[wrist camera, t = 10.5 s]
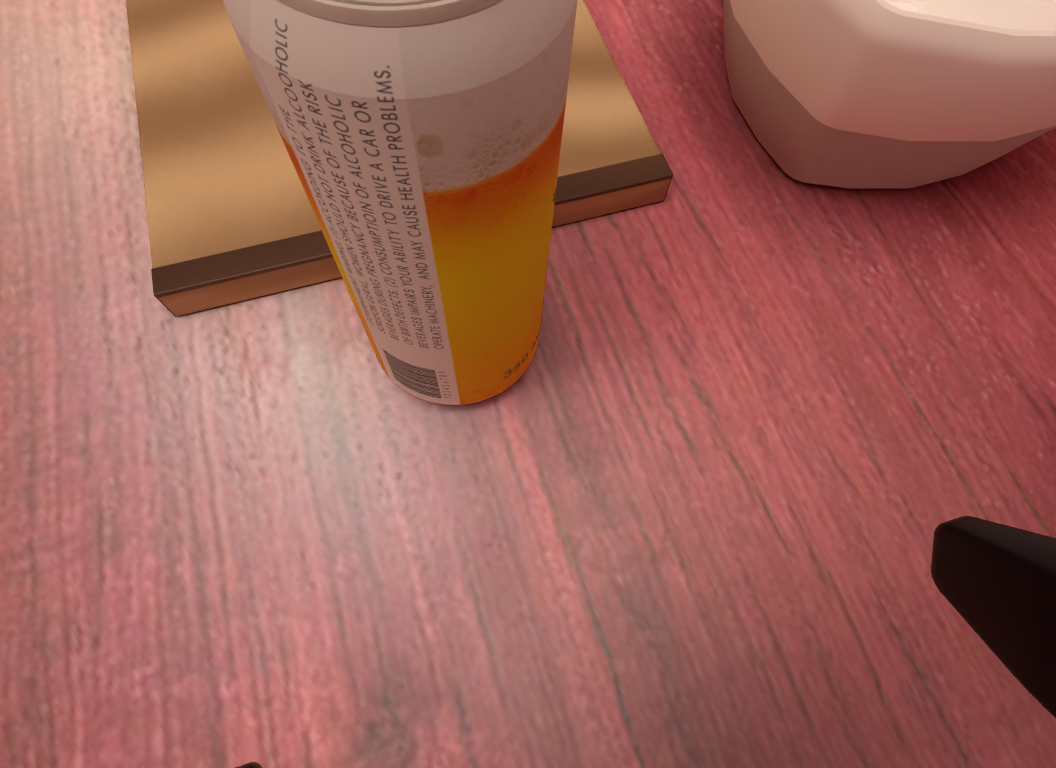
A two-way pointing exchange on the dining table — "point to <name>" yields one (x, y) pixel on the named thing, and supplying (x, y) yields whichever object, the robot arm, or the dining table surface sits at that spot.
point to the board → (270, 177)
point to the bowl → (891, 84)
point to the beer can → (426, 168)
